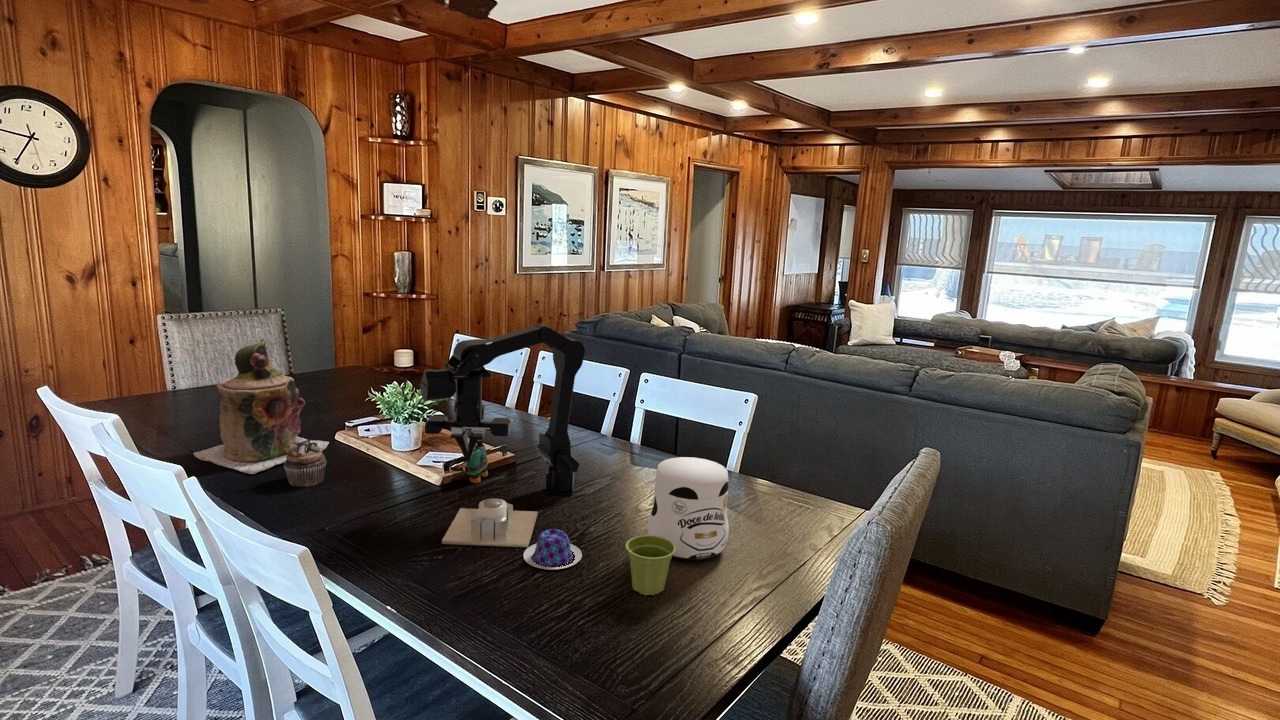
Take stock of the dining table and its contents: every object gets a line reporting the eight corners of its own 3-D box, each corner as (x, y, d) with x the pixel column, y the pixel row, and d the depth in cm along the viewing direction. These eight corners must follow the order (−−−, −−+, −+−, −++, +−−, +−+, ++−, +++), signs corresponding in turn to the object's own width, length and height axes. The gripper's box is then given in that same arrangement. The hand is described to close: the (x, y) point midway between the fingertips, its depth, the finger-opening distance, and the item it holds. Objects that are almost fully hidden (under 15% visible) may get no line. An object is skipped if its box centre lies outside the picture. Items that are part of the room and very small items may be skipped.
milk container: (704, 576, 133) (711, 492, 130) (631, 550, 142) (636, 471, 138) (739, 544, 148) (746, 467, 144) (671, 522, 156) (676, 449, 153)
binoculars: (456, 434, 180) (491, 435, 178) (460, 472, 182) (494, 473, 180) (440, 445, 171) (476, 445, 169) (444, 484, 173) (480, 485, 171)
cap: (508, 519, 151) (509, 497, 150) (503, 531, 145) (503, 508, 144) (482, 518, 151) (482, 495, 150) (475, 530, 145) (476, 507, 144)
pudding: (539, 540, 145) (539, 517, 144) (590, 550, 142) (591, 527, 140) (512, 565, 134) (513, 541, 133) (567, 577, 130) (568, 553, 129)
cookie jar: (188, 459, 178) (178, 341, 171) (270, 434, 200) (264, 329, 194) (255, 477, 169) (247, 353, 162) (332, 449, 191) (328, 339, 185)
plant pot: (622, 575, 132) (624, 534, 130) (669, 575, 133) (672, 535, 131) (625, 601, 123) (627, 557, 121) (675, 601, 124) (678, 558, 122)
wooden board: (537, 514, 156) (537, 498, 156) (527, 547, 141) (528, 529, 140) (460, 511, 156) (460, 495, 155) (441, 543, 140) (441, 526, 139)
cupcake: (276, 482, 166) (274, 444, 164) (311, 470, 175) (309, 434, 173) (301, 491, 162) (299, 452, 160) (335, 479, 170) (334, 441, 168)
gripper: (514, 389, 161) (513, 450, 164) (435, 386, 160) (435, 448, 163) (508, 401, 150) (507, 467, 153) (423, 398, 149) (424, 464, 152)
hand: (468, 460), depth 156 cm, fingers closed
